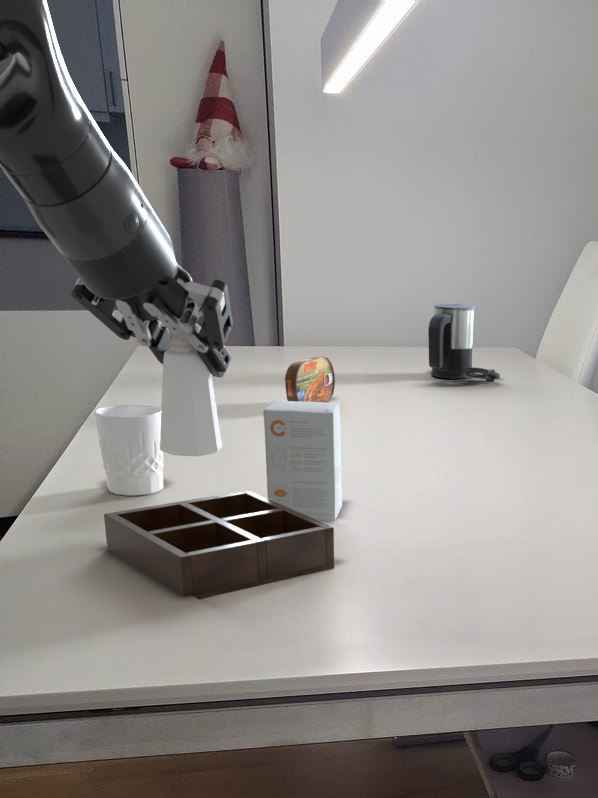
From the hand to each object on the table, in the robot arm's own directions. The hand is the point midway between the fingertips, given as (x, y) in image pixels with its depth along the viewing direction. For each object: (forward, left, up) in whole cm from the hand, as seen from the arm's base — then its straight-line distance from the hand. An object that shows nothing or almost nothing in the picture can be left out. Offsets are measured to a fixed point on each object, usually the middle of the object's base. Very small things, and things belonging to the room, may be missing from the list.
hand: (199, 365), depth 91 cm
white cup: (+10, +39, -22) cm, 46 cm away
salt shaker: (-2, -1, -7) cm, 7 cm away
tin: (+60, +75, -22) cm, 99 cm away
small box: (+22, +18, -22) cm, 36 cm away
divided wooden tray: (+5, +8, -22) cm, 24 cm away
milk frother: (+106, +85, -22) cm, 138 cm away
